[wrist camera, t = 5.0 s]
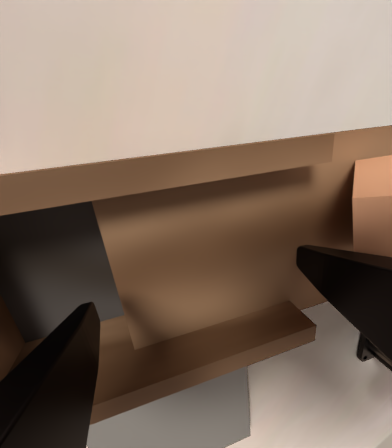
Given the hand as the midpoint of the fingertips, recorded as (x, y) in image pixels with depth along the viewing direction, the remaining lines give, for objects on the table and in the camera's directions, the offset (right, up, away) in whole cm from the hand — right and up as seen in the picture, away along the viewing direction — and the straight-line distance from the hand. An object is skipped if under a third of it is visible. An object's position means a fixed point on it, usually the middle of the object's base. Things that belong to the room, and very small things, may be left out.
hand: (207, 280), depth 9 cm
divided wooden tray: (-1, +2, +4) cm, 5 cm away
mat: (-2, -12, +8) cm, 15 cm away
